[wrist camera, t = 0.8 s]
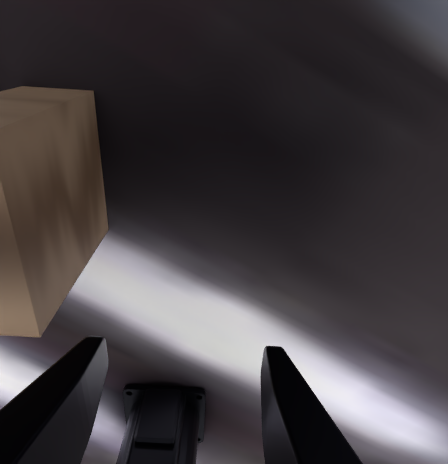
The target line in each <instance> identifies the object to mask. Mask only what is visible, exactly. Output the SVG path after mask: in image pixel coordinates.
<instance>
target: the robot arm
mask: <svg viewBox="0 0 448 464" xmlns="http://www.w3.org/2000/svg"><path fill="white" fill-rule="evenodd" d="M107 370H108V354H107V347H106V340H105V338H104V337H102V336H87V337H85V338H84V339H83V340H81V341H80V342H79V343H78V344H77V345H76V346H74V347H73V348H72V349H71V350H70V351H69V352H67V353H66V354H65V355H64V356H63V357H61V358H60V359H59V360H58V361H57V362H56V363H54V364H53V365H52V366H51V367H50V368H49V369H47V370H46V371H45V372H44V373H43V374H42V375H40V376H39V377H38V378H37V379H36V380H35V381H33V382H32V383H31V384H30V385H29V386H28V387H26V388H25V389H24V390H23V391H22V392H20V393H19V394H18V395H17V396H16V397H15V398H13V399H12V400H11V401H10V402H9V403H8V404H6V405H5V406H4V407H3V408H2V409H1V410H0V464H80V463H81V460H82V458H83V455H84V452H85V450H86V447H87V444H88V441H89V438H90V435H91V432H92V429H93V425H94V421H95V417H96V413H97V409H98V405H99V402H100V398H101V394H102V390H103V386H104V382H105V378H106V374H107ZM123 399H124V408H125V416H126V425H127V426H126V430H125V433H124V437H123V441H122V444H121V448H120V452H119V456H118V459H117V463H116V464H196V455H197V443H201V442H202V441H203V438H204V419H205V399H206V392H205V391H204V390H203V389H195V388H177V387H159V386H141V385H127V386H125V387H124V390H123ZM261 407H262V437H263V448H264V457H265V464H363V463H362V462H361V460H360V459H359V458H358V456H357V455H356V453H355V452H354V450H353V449H352V447H351V446H350V445H349V443H348V442H347V440H346V439H345V437H344V436H343V434H342V433H341V432H340V430H339V429H338V427H337V426H336V424H335V423H334V421H333V420H332V419H331V417H330V416H329V414H328V413H327V411H326V410H325V408H324V407H323V405H322V404H321V403H320V401H319V400H318V398H317V397H316V395H315V394H314V392H313V391H312V390H311V388H310V387H309V385H308V384H307V382H306V381H305V379H304V378H303V377H302V375H301V374H300V372H299V371H298V369H297V368H296V366H295V365H294V364H293V362H292V361H291V359H290V358H289V356H288V355H287V353H286V352H285V351H284V349H283V348H282V347H277V346H266V347H265V349H264V354H263V361H262V367H261Z"/></svg>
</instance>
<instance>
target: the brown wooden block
mask: <svg viewBox="0 0 448 464" xmlns="http://www.w3.org/2000/svg"><path fill="white" fill-rule="evenodd" d="M108 230H109V229H108V220H107V210H106V201H105V192H104V183H103V174H102V165H101V155H100V146H99V137H98V128H97V119H96V109H95V100H94V91H90V90H74V89H58V88H43V87H27V86H21V87H17V88H13V89H9V90H4V91H0V335H8V336H26V337H41V335H42V334H43V332H44V331H45V329H46V328H47V326H48V324H49V323H50V321H51V320H52V318H53V317H54V315H55V313H56V312H57V310H58V309H59V307H60V306H61V304H62V302H63V301H64V299H65V298H66V296H67V294H68V293H69V291H70V290H71V288H72V287H73V285H74V283H75V282H76V280H77V279H78V277H79V276H80V274H81V272H82V271H83V269H84V268H85V266H86V265H87V263H88V261H89V260H90V258H91V257H92V255H93V253H94V252H95V250H96V249H97V247H98V246H99V244H100V242H101V241H102V239H103V238H104V236H105V235H106V233H107V231H108Z"/></svg>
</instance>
